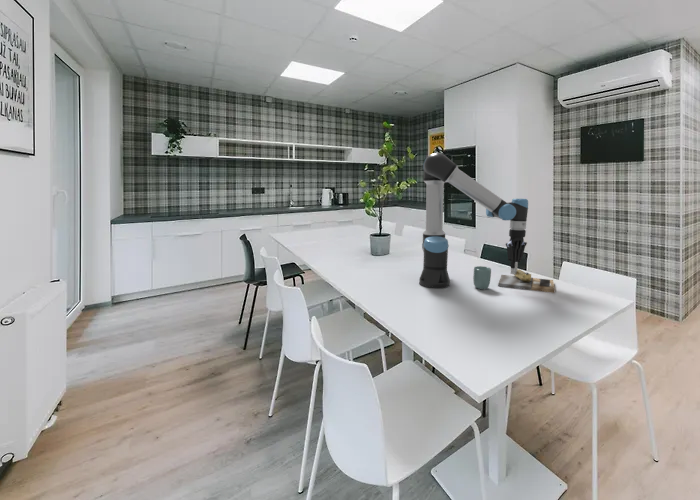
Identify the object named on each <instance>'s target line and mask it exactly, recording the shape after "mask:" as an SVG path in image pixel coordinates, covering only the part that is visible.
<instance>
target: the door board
mask: <svg viewBox="0 0 700 500" xmlns="http://www.w3.org/2000/svg"><path fill="white" fill-rule="evenodd" d="M497 286H498V287H500V288H501V287H502V288H503V287H504V288H511V289H518V290H525V291H535V292H543V293H544V292H545V293H553V294H555V292H556V289H555V283H554V279H548V278H538V277H532V276H531V282H523V281H522V280H521V279H519V278H518V277H516V276H515V275H511V274H510V275H509V274H501V275H500V278H499V280H498V283H497Z"/></svg>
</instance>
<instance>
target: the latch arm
mask: <svg viewBox="0 0 700 500" xmlns="http://www.w3.org/2000/svg"><path fill="white" fill-rule="evenodd" d="M514 276H516V277H518V278H519V279H521V280H522V281H523V282H531V277H532V274H531V273H529V272H525V271H523V270H522V269H518V268H517V275H514Z"/></svg>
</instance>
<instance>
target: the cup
mask: <svg viewBox="0 0 700 500" xmlns="http://www.w3.org/2000/svg"><path fill="white" fill-rule="evenodd" d="M491 277H492V268H491V267H489V266H483V265H480V266H474V267H473V285H474V287H475V288H476V289H477V290H478V289H479V290H486V289H488V288H489V287H490V284H491V279H492V278H491Z"/></svg>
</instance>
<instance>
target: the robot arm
mask: <svg viewBox="0 0 700 500" xmlns="http://www.w3.org/2000/svg"><path fill="white" fill-rule="evenodd" d="M422 170H423V182H424V183H425V185H426V188H425V189H426V192H425V193H426V194H425V195H426V197H425V199H426V201H425V206H426V207H425V230H424V231H423V232H422V244H421V249H422V251H423V268H422V271H421V274H420V277H419V279H418V280H419V285H420V284H421V286H423V287H426V288H430V289H431V288H432V289H443V288H445V289H446V288H448V287H450V285H451V279H450V276H449V273H448V272H449V271H448V260H449V259H448V257H449V255H448V254H449V246H450V245H449V240H448V239H447V238H446V233H445V231H444V229H443V225H444V224H443V221H444V220H443V218H444V184H445V183H449V185H452V186H453V187H455V188H456V190H459V191H460V192H462V193H463V194H465V195H466V196H467V197H469V198H470V199H471V200H473V201H475V202H476V203H478V204H479V205H480V206H482V207H483V208H485V215H486V217H488V218H498V219H501V220H502V221H509V232H508V236H509V237H510V238H509V241H508V242H505V246H506V251H507V252H506V253H507V261H509V262H510V275H513V276H515V275H517V269H518V267H519V263H521V261H523V260H522V259H523V256H524V252H525V250H526V249H525V248H526V247H527V244H528V242H527V241H525V240H524V238H525V237H526V232H527V230H526V228H527V221H528V219H527V218H528V212H529V200H528V198H513V199H512V200H511V202H506V201H505V200H504V199H502V198H501V197H500V196H498V195H497V194H495V192H492V191H491V190H489V189H488V188H486V186H484V185H482V184H481V183H479V182H478V181H477V180H476V179H474V178H473V177H470V175H468V174H466V173H465V172H464V171H462V170H461V169H459V166H458V164H456V162H453V161H452V160H451V159H450V158H448V157H447V155H445V154H444V153H442V152H434V153H431V154H430V155H428V156H427V157H426V158H425V160H424V162H423V165H422Z"/></svg>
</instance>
